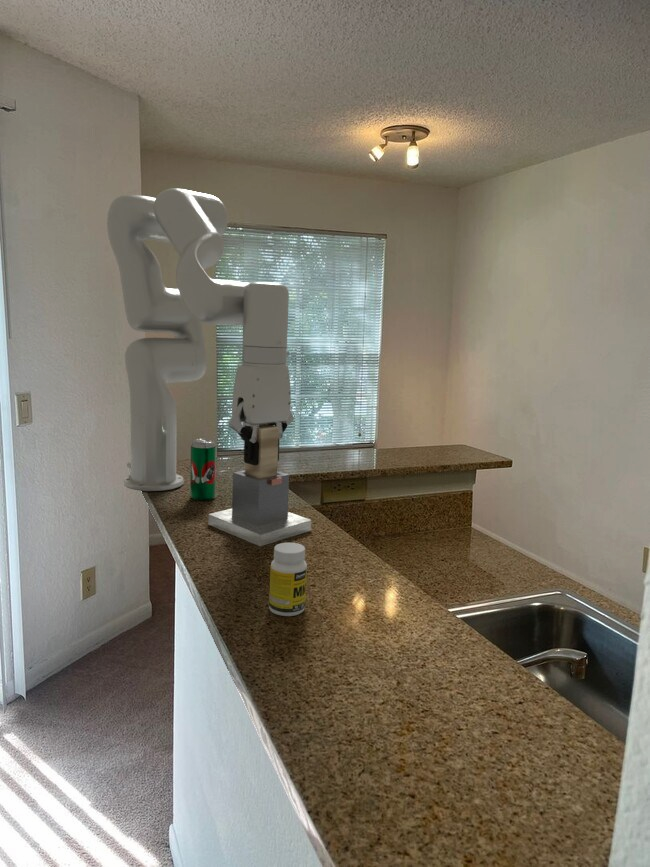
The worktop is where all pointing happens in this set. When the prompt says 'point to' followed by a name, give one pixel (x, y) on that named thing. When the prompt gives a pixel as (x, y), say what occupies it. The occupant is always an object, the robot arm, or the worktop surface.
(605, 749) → the worktop surface
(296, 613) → the supplement bottle
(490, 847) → the worktop surface
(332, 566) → the worktop surface
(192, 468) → the soda can
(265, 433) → the column
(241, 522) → the stand base
